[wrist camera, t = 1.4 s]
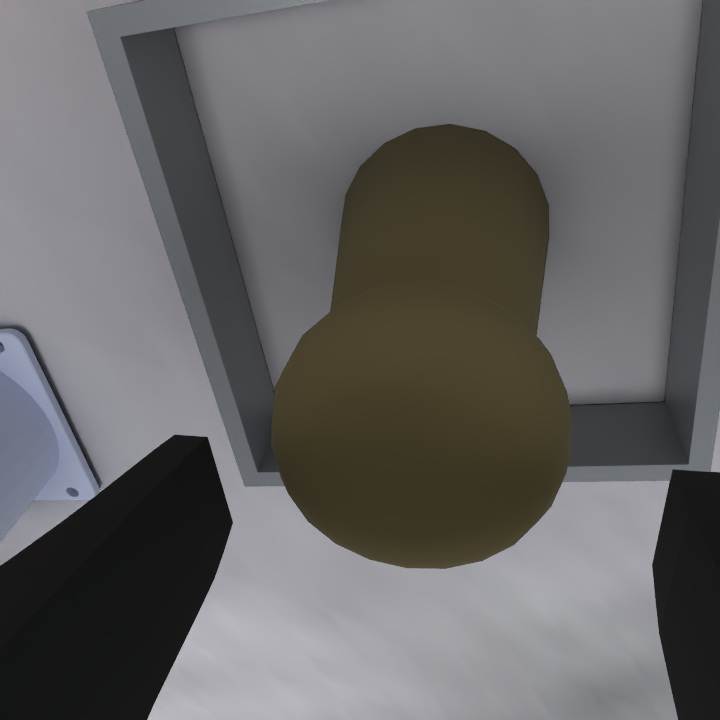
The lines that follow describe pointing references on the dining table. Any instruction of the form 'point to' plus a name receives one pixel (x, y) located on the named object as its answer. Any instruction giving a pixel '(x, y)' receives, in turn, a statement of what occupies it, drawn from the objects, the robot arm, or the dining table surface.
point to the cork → (429, 361)
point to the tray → (231, 305)
